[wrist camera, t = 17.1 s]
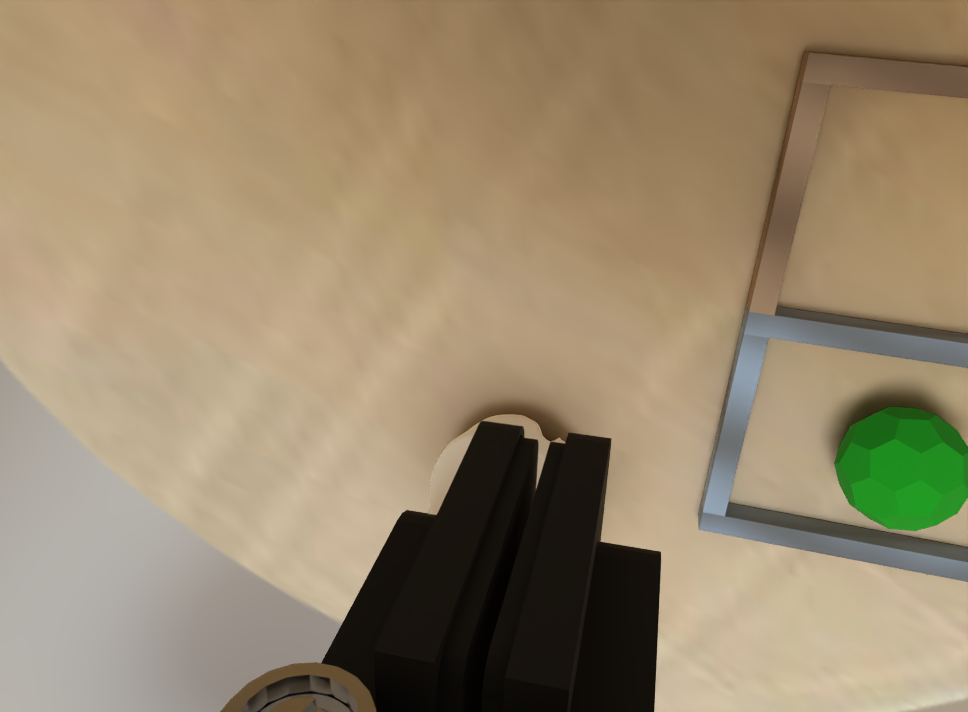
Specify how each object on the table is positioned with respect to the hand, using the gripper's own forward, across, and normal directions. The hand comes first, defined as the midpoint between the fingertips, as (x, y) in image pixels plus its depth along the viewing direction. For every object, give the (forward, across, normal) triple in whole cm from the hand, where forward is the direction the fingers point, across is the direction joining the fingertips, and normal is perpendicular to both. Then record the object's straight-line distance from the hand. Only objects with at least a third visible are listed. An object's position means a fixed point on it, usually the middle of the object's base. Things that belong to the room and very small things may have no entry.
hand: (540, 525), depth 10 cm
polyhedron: (+25, -12, +12) cm, 30 cm away
